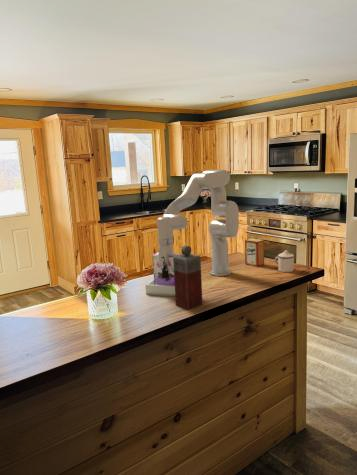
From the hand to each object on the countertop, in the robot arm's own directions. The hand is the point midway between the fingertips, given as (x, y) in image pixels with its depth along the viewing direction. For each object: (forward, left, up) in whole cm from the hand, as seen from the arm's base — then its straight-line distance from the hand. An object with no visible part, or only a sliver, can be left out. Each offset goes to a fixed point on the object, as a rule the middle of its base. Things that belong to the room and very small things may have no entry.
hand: (167, 275), depth 192 cm
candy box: (0, 0, -5) cm, 5 cm away
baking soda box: (-57, +36, -9) cm, 68 cm away
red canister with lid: (+15, +15, -9) cm, 23 cm away
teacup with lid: (-48, +54, -9) cm, 73 cm away
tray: (0, 0, -9) cm, 9 cm away
